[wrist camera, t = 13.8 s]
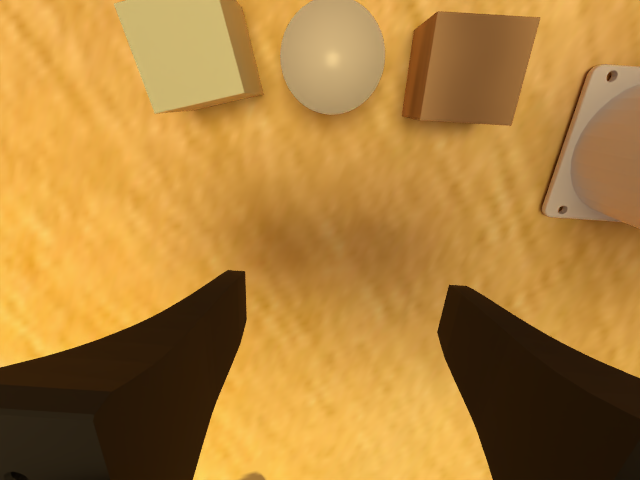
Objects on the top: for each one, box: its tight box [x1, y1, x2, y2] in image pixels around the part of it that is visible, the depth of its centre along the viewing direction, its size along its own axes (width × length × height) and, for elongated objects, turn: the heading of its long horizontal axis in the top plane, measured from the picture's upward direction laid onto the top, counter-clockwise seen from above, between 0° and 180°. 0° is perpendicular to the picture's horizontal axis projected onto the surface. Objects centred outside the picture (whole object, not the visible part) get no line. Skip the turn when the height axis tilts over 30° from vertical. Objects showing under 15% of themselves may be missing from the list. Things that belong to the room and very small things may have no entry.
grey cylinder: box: [280, 0, 385, 115], centre depth 15 cm, size 4×4×5 cm
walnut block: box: [402, 11, 540, 126], centre depth 16 cm, size 4×4×4 cm
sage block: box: [114, 0, 263, 114], centre depth 15 cm, size 4×4×4 cm
